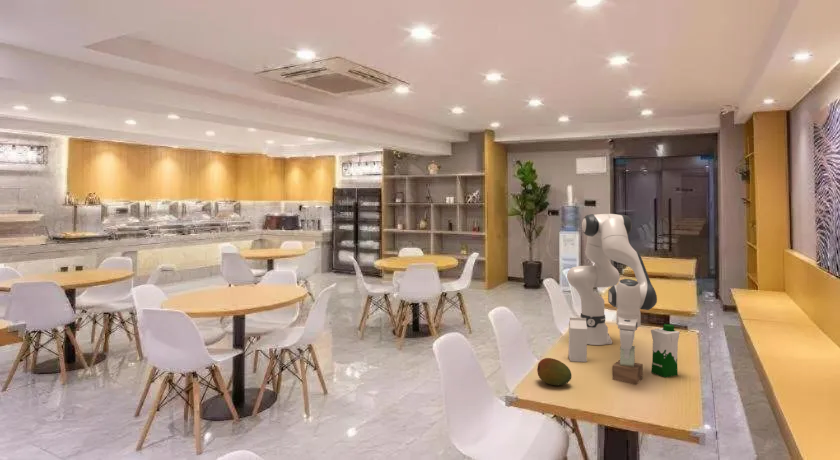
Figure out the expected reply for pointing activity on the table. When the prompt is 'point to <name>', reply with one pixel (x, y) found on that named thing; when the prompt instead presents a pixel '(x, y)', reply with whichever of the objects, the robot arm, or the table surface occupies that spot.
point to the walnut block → (627, 373)
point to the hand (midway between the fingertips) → (627, 354)
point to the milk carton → (578, 339)
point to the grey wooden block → (629, 361)
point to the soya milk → (665, 351)
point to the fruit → (553, 372)
